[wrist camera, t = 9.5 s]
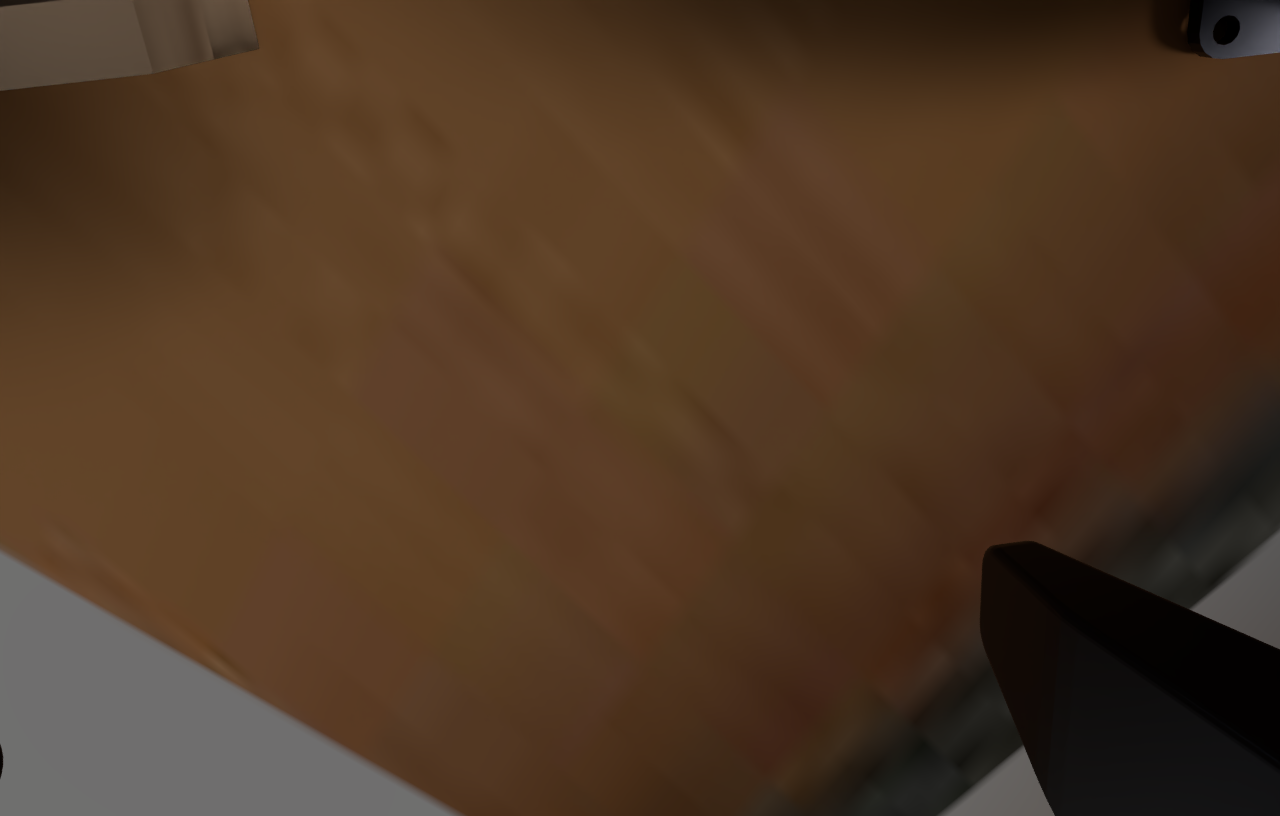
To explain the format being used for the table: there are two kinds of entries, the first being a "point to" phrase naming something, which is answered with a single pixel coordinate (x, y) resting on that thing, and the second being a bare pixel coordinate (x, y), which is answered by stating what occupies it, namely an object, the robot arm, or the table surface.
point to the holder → (115, 38)
